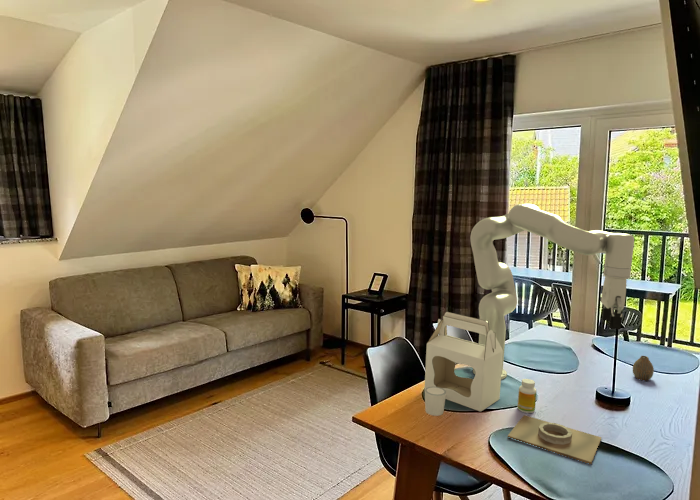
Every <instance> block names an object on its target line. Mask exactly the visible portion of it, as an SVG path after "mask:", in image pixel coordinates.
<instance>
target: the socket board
mask: <svg viewBox="0 0 700 500" xmlns="http://www.w3.org/2000/svg"><path fill="white" fill-rule="evenodd" d="M508 437H510V438H513V439H516V440H519V441H522V442H525V443H528V444H531V445H534V446H537V447H540V448H543V449H546V450H548V451H547V452H549V451H552V452H555V453H557V454H556V455H558V454H560V455H559V456H562V455H563V456H562V457H565V456H566V457H565V458H568V457H569V458H568V459H571V458H573V459H572V460H574V459H576V460H575V461H577V460H579V461H578V462H580V461H582V462H581V463H583V462H585V463H584V464H586V463H589V464H588V465H590V464H591V465H593V462H592V461H594V459H595V457H594V456H596V455H597V452H596V451H598V449H599V447H598V446H600V445H601V442H602V438H603V437H601V436H599V435H594V434H591V433H587V432H584V431H581V430H578V429H574V428H570V427H568V426H565V425H563V424H560V423H559V424H558V423H557V422H556V423H555V422H549V421H546V420H544V419H543V420H542V419H539V418H536V417H532V416H528V415H525V414H523V416H521V418H520V419H519V421H518V422H517V423H516V424H515V426H514V427H513V428H512V430H511V431H510V432H509V433H508V434H507V438H508ZM600 441H601V442H600ZM537 447H536V448H537ZM540 448H539V449H540ZM597 448H598V449H597ZM543 449H542V450H543ZM546 450H545V451H546ZM552 452H551V453H552ZM555 453H554V454H555Z"/></svg>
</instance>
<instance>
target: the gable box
mask: <svg viewBox="0 0 700 500" xmlns="http://www.w3.org/2000/svg"><path fill="white" fill-rule="evenodd" d="M447 326H448V327H453V328H458V329H461V330H464V331H465V330H466V331H469V332H472V333H477V334H479V333H480V334H483V335H485V336H486V345H482V344H479V342H478V343H477V342H475V341H472V340H471V341H470V340H466V339H463V338H459V337H457V336H452V335H448V329H447V328H448V327H447ZM425 353H426V354H425V372H424V373H425V375H424V391H425V389H426V388H427V387H440V388H442V389H444V390H446V399H445V400H447V401H450V402H453V403H456V404H458V405H461V406H464V407H467V408H469V409H473V410H475V411H478V412H482V411H484V410H486V409H487V408H489V407H490V406H491V405H493V404H494V403H496V402H498V401H499V400H500V398H501V396H500V395H501V382H502V379H501V372H502V359H503V349H502V348H501V346H500V344H499V342H498V340H497V338H496V335H495V332H493V331H492V330H489V323H488V321H485V320H481V319H480V318H476V317H472V316H468V315H463V314H459V313H455V312H454V313H453V312H449V311H446V312H445V313H444V315H442V318H438V320H437V326H436V327H435V329H434V331H433V332H432V334H431V336H430V338H429V339H428V341H427V342H426V351H425ZM456 364H459V365H464V366H469V367H471V368H472V370H473V369H474V370H475V372H476V374H474V377H473V378H471V377H463V376H462V377H461V376H458V375H457V374H456V373H455V369H456Z"/></svg>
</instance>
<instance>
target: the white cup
mask: <svg viewBox="0 0 700 500" xmlns="http://www.w3.org/2000/svg"><path fill="white" fill-rule="evenodd" d="M446 400H447V399H446V390H444V389H442V388H440V387H427V388H426V389H425V390H424V406H425V413H426V414H428V415H430V416H433V417H434V416H435V417H437V416H438V417H439V416H442V415H443V414H444V410H445V404H446Z"/></svg>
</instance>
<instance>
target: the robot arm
mask: <svg viewBox="0 0 700 500" xmlns="http://www.w3.org/2000/svg"><path fill="white" fill-rule="evenodd" d="M524 231H526V232H529V233H531V234H534V235H535V236H538V237H542V238H544V239H547V240H549V241H550V242H552V243H554V244H556V245H558V246H559V247H562V248H565V250H566V249H567V250H569V251H571V252H572V251H573V252H574V253H578V254H579V255H584V256H592V255H596V254H601V253H602V254H603V253H604V254H605V256H604V267H603V274H602V275H603V277H604V280H603V286H602V291H601V298H600V301H601V303H602V305H603V309H602V318H601V320H602V321H608V322H609V325H608V328H609V329H612V330H621V328H622V320H623V310H624V308H625V304H626V303H625V302H626V294H627V280H629V279H630V278H631V273H632V263H633V254H634V247H635V237H634V235H632V234H630V233H624V232H623V233H622V232H609V231H604V230H599V229H595V230H589V231H588V230H584V229H582V228H579V227H577V226H576V227H575V226H573V225H571V224H568V223H566V222H565V221H563V220H562V218H561V217H560V216H559V215H558V214H554V213H551V212H547V211H545V210H543V209H542V210H541V208H540V207H539V206H537V205H536V204H533V203H519V204H516V205H513V206H512V207H511V208H510V210H509V212H507V213H506V214H504V215H502V216H489V217H485V218H483V219H481V220H480V221H478V222H477V223H476V224H475V225H474V226H473V228H472V229H471V233H470V246H471V250H472V255H473V261H474V266H475V267H474V268H475V272H476V277H477V283H478V285H479V286H480V287H481V289H484V290H491V292H490V293H488V294H486V295H483V297H482V298H481V299H480V301H479V303H478V315H479V319H481V320H485V321H488V323H489V330H492V331H493V332H495V335H496V338H497V340H498V342H499V344H500V346H501V348H502V349H503V359H502V372H501V380H503V379H505V378H507V376H508V375H507V374H508V372H507V371H506V370H505V369H504V359H505V358H504V357H505V345H506V332H507V331H506V321H505V316H506V315H508V314H511V313H512V312H513V311H514V310H515V309H516V308H517V304H518V297H517V291H516V286H515V281H514V276H513V272H512V270H511V268H510V267H509V266H508V265H507V264H506V263H504V262H501V261H499V260H498V253H497V250H496V248H495V245H494V240H501V239H502V240H503V239H506V238H510V237H512V236H515V235H517V234H520V233H522V232H524ZM478 334H479V335H478V343H479V344H482V345H486V336H485V335H483V334H480V333H478ZM472 373H473V374H474V375H475V374H476V372H475V370H474V369H473V368H472Z"/></svg>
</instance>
